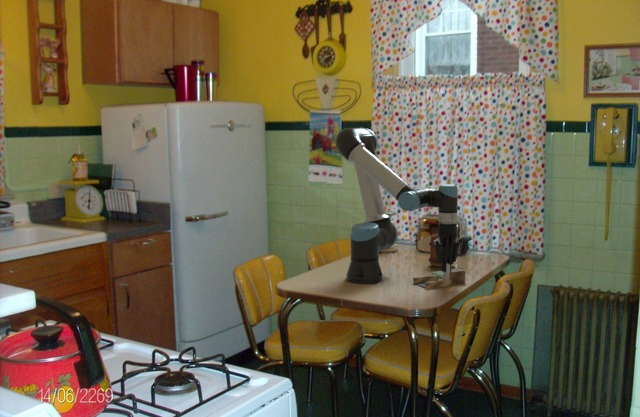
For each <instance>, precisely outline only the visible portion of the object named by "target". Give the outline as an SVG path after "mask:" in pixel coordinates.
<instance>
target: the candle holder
mask: <svg viewBox="0 0 640 417" xmlns="http://www.w3.org/2000/svg"><path fill="white" fill-rule="evenodd" d="M385 213H386V214H387V215H388V216H390V219H392V216H396V215H397V212H396V211H391V210H385ZM398 250H399V249H398V247H396V246H395V244H394V245H393V246H391V247H390V248H388V249H384V250H381V251H379V253H380V252H381V253H383V254H392V253H397V252H398Z"/></svg>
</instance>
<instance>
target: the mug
mask: <svg viewBox="0 0 640 417" xmlns="http://www.w3.org/2000/svg"><path fill="white" fill-rule="evenodd" d="M438 235H439V234H438ZM438 235H437V234H434V235H433V234H432V235H431V238H430V241H429V243H428V245H429V246H430V248H429V249H430V252H429V253H430V256H429V258H428V262H429V265H430V266H433V267H436V268H442V263H439V262H438V260H437V255H436V250H435V245H434V244H433V240H436V239H437V238H438ZM454 242H455V241H454ZM453 244H454V243H453ZM440 246H441V243H440ZM441 251H442V247H441Z"/></svg>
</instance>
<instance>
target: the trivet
mask: <svg viewBox="0 0 640 417" xmlns="http://www.w3.org/2000/svg"><path fill="white" fill-rule="evenodd" d="M431 275H439V278H440V279H442V280H444V279H443V272H442V270H438V271H431Z"/></svg>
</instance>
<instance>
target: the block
mask: <svg viewBox="0 0 640 417" xmlns="http://www.w3.org/2000/svg"><path fill="white" fill-rule="evenodd" d="M450 279H451V285H456V284H464V283H466V270H464V269H461V268H459V267H457V268H451V271H450ZM443 280H445V279H443Z"/></svg>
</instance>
